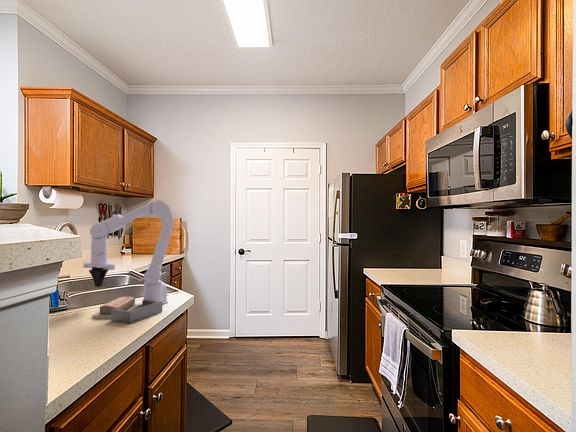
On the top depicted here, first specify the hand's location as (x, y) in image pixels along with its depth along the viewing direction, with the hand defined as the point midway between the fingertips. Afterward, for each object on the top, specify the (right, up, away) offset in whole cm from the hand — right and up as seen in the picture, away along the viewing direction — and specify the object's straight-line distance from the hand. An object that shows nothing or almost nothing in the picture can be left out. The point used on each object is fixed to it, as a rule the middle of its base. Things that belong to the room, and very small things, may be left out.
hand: (98, 286), depth 145 cm
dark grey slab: (+20, -9, -11) cm, 25 cm away
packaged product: (+11, -9, -6) cm, 16 cm away
